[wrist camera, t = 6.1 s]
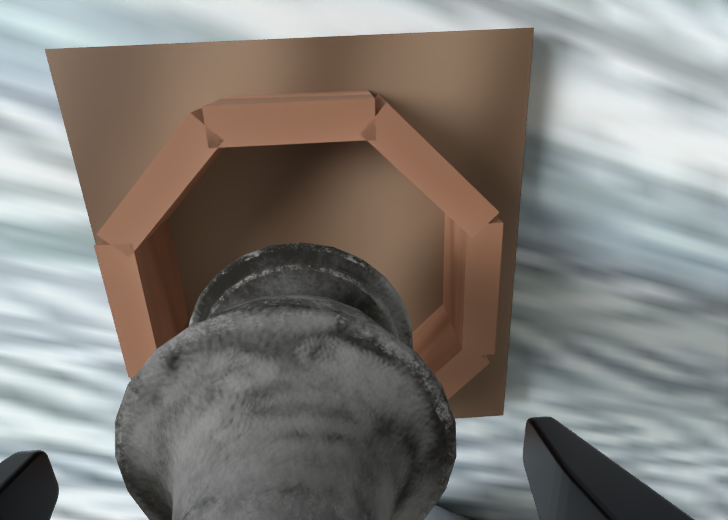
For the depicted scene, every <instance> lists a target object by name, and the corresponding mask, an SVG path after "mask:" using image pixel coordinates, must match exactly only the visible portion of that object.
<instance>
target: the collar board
mask: <svg viewBox="0 0 728 520" xmlns="http://www.w3.org/2000/svg"><path fill="white" fill-rule="evenodd" d="M533 32H534V28H516V29H494V30H471V31H448V32H426V33H403V34H380V35H358V36H335V37H312V38H289V39H267V40H244V41H221V42H199V43H176V44H153V45H131V46H108V47H85V48H63V49H45V52H46V56H47V60H48V63H49V67H50V71H51V75H52V79H53V82H54V86H55V90H56V94H57V98H58V102H59V105H60V109H61V113H62V117H63V121H64V125H65V128H66V132H67V136H68V140H69V144H70V147H71V151H72V155H73V159H74V163H75V167H76V170H77V174H78V178H79V182H80V186H81V189H82V193H83V197H84V201H85V205H86V209H87V212H88V216H89V220H90V224H91V228H92V232H93V235H94V239H95V243H96V245H94V247H95V251H96V255H97V259H98V263H99V266H100V270H101V274H102V278H103V282H104V285H105V289H106V293H107V297H108V301H109V304H110V308H111V312H112V316H113V320H114V323H115V327H116V331H117V335H118V339H119V342H120V346H121V350H122V354H123V357H124V361H125V365H126V369H127V373H128V376H129V377H131V380H132V379H133V377H134V376H135V375H136V374H137V372H138V371H139V370H140V369H141V367H142V366H143V365H144V363H145V362H146V361H147V360H148V358H149V357H150V356H151V355H152V353H153V352H154V351H155V350H156V349H157V348H159V347H160V346H162V345H163V344H165V343H166V342H168V341H169V340H171V339H172V338H173V337H175V336H176V335H178V334H179V333H181V332H182V331H184V330H185V329H186V328H188V327H189V322H190V319H191V316H192V314H193V311H194V309H195V306H196V303H197V301H198V298H199V296H200V294H201V293H202V292H203V291H204V289H205V288H206V287H207V286H208V284H209V283H210V282H211V281H212V279H213V278H214V277H215V275H216V274H217V273H218V272H220V271H221V270H222V269H224V268H225V267H227V266H228V265H229V264H231V263H232V262H234V261H235V260H237V259H238V258H239V257H241V256H243V255H246V254H248V253H251V252H254V251H257V250H259V249H262V248H265V247H268V246H270V245H280V244H290V243H300V242H303V243H310V244H317V245H324V246H331V247H335V248H337V249H340V250H342V251H345V252H347V253H349V254H352V255H354V256H357V257H359V258H361V259H363V260H364V261H366V262H367V263H368V264H370V265H371V266H372V267H374V268H375V269H376V270H378V271H379V272H380V273H381V274H383V275H384V276H385V277H386V278H387V279H388V281H389V282H390V283H391V285H392V286H393V287H394V289H395V290H396V291H397V293H398V294H399V295H400V296H401V298H402V300H403V303H404V305H405V308H406V311H407V313H408V316H409V319H410V321H411V324H412V339H413V350H414V351H415V352H417V353H418V355H419V356H420V357H421V358H422V360H423V361H424V362H425V364H426V365H427V366H428V367H429V369H430V370H431V371H432V372H433V374H434V375H435V376H436V378H437V379H438V380H439V381H440V383H441V384H442V386H443V389H444V392H445V394H446V397H447V400H448V402H449V405H450V408H451V411H452V413H453V416H454V418H469V417H484V416H499V415H503V411H504V398H505V386H506V373H507V360H508V348H509V335H510V323H511V310H512V297H513V285H514V272H515V259H516V247H517V234H518V222H519V209H520V196H521V184H522V171H523V159H524V146H525V133H526V121H527V108H528V95H529V83H530V70H531V58H532V45H533Z"/></svg>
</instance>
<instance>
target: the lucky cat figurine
mask: <svg viewBox="0 0 728 520" xmlns="http://www.w3.org/2000/svg"><path fill="white" fill-rule="evenodd" d="M424 520H471V519H469V518H466V517H463V516H461V515H458V514H455V513H453V512H450V511H448V510H446V509H444V508H442V507H439V506H437V505H435V506H434V507H433V508H432V510H431V511H430V513H429V514H428V516H427V517H426V518H425V519H424Z"/></svg>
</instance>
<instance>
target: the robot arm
mask: <svg viewBox="0 0 728 520" xmlns="http://www.w3.org/2000/svg"><path fill="white" fill-rule="evenodd" d="M523 462H524V467H525V471H526V474H527V477H528V481H529V484H530V487H531V491H532V494H533V497H534V501H535V504H536V507H537V511H538V514H539V517H540V520H694V519H693V518H691V517H690V516H689V515H687V514H686V513H684V512H683V511H682V510H680V509H679V508H678V507H676V506H675V505H673V504H672V503H671V502H669V501H668V500H666V499H665V498H664V497H662V496H661V495H659V494H658V493H657V492H655V491H654V490H653V489H651V488H650V487H648V486H647V485H646V484H644V483H643V482H641V481H640V480H639V479H637V478H636V477H634V476H633V475H632V474H630V473H629V472H628V471H626V470H625V469H623V468H622V467H621V466H619V465H618V464H616V463H615V462H614V461H612V460H611V459H609V458H608V457H607V456H605V455H604V454H603V453H601V452H600V451H598V450H597V449H596V448H594V447H593V446H591V445H590V444H589V443H587V442H586V441H584V440H583V439H582V438H580V437H579V436H578V435H576V434H575V433H573V432H572V431H571V430H569V429H568V428H566V427H565V426H564V425H562V424H561V423H559V422H558V421H557V420H555V419H554V418H552V417H534V418H530V419H528V420H527V423H526V428H525V438H524V447H523ZM58 494H59V487H58V482H57V480H56V477H55V474H54V472H53V469H52V466H51V463H50V461H49V458H48V456H47V454H46V453H45V452H44V451H41V450H33V451H21V452H17V453H15V454H13V455H11V456H10V457H8V458H7V459H5V460H4V461H2V462H1V463H0V520H50V518H51V515H52V513H53V510H54V507H55V505H56V502H57V499H58Z"/></svg>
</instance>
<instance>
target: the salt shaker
mask: <svg viewBox="0 0 728 520" xmlns="http://www.w3.org/2000/svg"><path fill="white" fill-rule="evenodd" d="M115 457H116V460H117V463H118V466H119V468H120V471H121V474H122V477H123V479H124V482H125V485H126V488H127V490H128V492H129V493H130V495H131V496H132V497H133V499H134V500H135V501H136V503H137V504H138V505H139V507H140V508H141V509H142V511H143V512H144V513H145V515H146V516H147V517H148V519H149V520H424V519H425V518H426V517H427V516H428V514H429V513H430V511H431V510H432V508H433V507H434V506H435V504H436V503H437V501H438V500H439V498H440V497H441V495H442V494H443V492H444V491H445V490H446V487H447V484H448V481H449V478H450V475H451V472H452V468H453V465H454V462H455V459H456V422H455V419H454V416H453V413H452V411H451V408H450V405H449V402H448V400H447V397H446V394H445V392H444V389H443V386H442V384H441V383H440V381H439V380H438V379H437V378H436V376H435V375H434V374H433V372H432V371H431V370H430V369H429V367H428V366H427V365H426V364H425V362H424V361H423V360H422V358H421V357H420V356H419V355H418V353H417V352H415V351H414V350H413V339H412V324H411V321H410V319H409V316H408V313H407V311H406V308H405V305H404V303H403V300H402V298H401V296H400V295H399V294H398V293H397V291H396V290H395V289H394V287H393V286H392V285H391V283H390V282H389V281H388V279H387V278H386V277H385V276H384V275H383V274H381V273H380V272H379V271H378V270H376V269H375V268H374V267H372V266H371V265H370V264H368V263H367V262H366V261H364V260H363V259H361V258H359V257H357V256H354V255H352V254H349V253H347V252H345V251H342V250H340V249H337V248H335V247H331V246H324V245H317V244H310V243H303V242H300V243H290V244H280V245H270V246H268V247H265V248H262V249H259V250H257V251H254V252H251V253H248V254H246V255H243V256H241V257H239V258H238V259H237V260H235V261H234V262H232V263H231V264H229V265H228V266H227V267H225V268H224V269H222V270H221V271H220V272H218V273H217V274H216V275H215V277H214V278H213V279H212V281H211V282H210V283H209V284H208V286H207V287H206V288H205V289H204V291H203V292H202V293H201V294H200V296H199V298H198V301H197V303H196V306H195V309H194V311H193V314H192V316H191V319H190V322H189V327H188V328H186V329H185V330H184V331H182V332H181V333H179V334H178V335H176V336H175V337H173V338H172V339H171V340H169V341H168V342H166V343H165V344H163V345H162V346H160V347H159V348H157V349H156V350H155V351H154V352H153V353H152V355H151V356H150V357H149V358H148V360H147V361H146V362H145V363H144V365H143V366H142V367H141V369H140V370H139V371H138V372H137V374H136V375H135V376H134V377H133V379H132V380H131V381H130V382H129V384H128V386H127V388H126V391H125V394H124V397H123V400H122V403H121V406H120V408H119V411H118V414H117V417H116V420H115Z"/></svg>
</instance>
